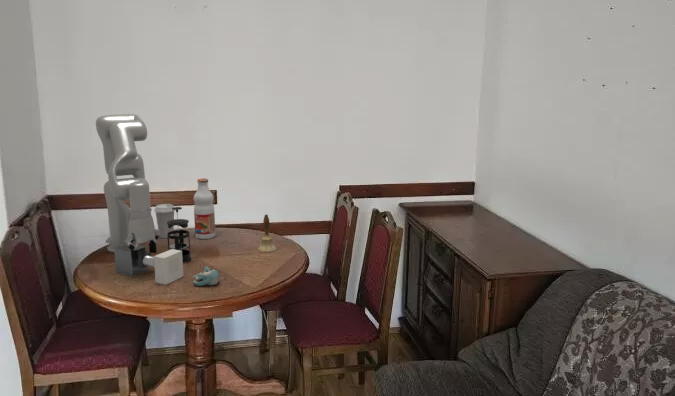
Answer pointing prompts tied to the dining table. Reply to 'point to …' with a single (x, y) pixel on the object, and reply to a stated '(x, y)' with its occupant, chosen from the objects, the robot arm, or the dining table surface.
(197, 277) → the stuffed animal
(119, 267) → the grey metal block
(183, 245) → the french press
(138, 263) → the rod
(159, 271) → the socket
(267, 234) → the hand bell
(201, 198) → the fruit juice
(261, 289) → the dining table surface
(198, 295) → the dining table surface
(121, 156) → the robot arm
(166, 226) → the coffee cup
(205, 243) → the dining table surface
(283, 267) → the dining table surface
